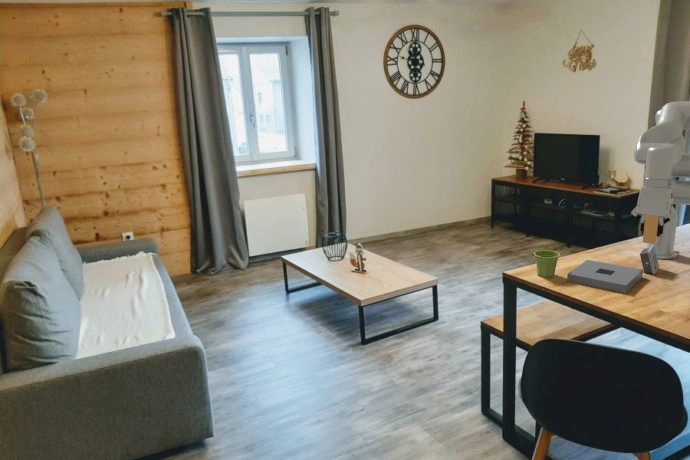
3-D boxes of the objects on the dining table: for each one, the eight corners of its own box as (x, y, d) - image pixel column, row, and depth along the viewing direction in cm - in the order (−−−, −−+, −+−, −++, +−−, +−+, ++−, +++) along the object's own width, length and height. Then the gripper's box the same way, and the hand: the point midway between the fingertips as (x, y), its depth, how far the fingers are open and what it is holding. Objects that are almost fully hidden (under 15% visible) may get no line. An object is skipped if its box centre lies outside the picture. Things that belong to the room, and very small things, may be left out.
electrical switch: (655, 275, 194) (655, 251, 193) (639, 274, 198) (639, 250, 196) (659, 268, 201) (659, 245, 200) (644, 267, 205) (644, 244, 203)
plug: (645, 239, 184) (648, 212, 181) (658, 241, 181) (661, 213, 179) (642, 242, 181) (645, 214, 178) (655, 244, 178) (658, 216, 176)
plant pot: (532, 278, 198) (533, 256, 196) (533, 270, 207) (534, 249, 204) (558, 280, 195) (560, 258, 192) (558, 271, 203) (559, 250, 201)
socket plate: (586, 266, 207) (587, 259, 206) (642, 277, 193) (643, 269, 193) (567, 281, 193) (567, 273, 192) (625, 293, 180) (626, 285, 179)
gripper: (688, 183, 173) (681, 235, 178) (632, 179, 184) (628, 228, 189) (683, 186, 168) (676, 241, 172) (626, 182, 179) (621, 233, 183)
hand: (651, 234), depth 180 cm, fingers closed on plug, 4 cm apart
